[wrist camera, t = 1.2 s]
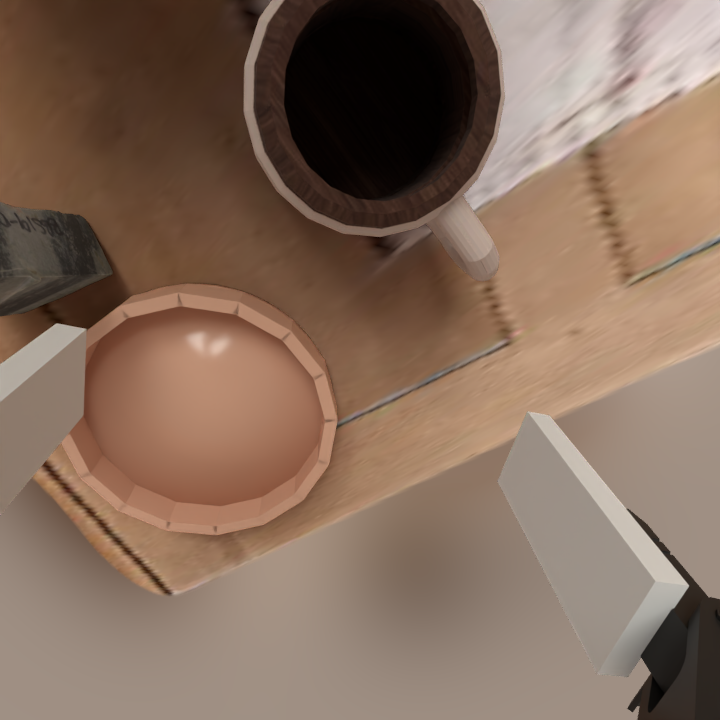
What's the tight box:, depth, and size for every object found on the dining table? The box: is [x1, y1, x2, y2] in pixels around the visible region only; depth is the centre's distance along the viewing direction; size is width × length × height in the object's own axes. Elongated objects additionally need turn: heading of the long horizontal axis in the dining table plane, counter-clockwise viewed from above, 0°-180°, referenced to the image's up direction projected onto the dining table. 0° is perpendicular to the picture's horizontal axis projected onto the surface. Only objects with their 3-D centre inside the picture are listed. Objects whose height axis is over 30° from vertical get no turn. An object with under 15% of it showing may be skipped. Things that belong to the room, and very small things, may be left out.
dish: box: [61, 283, 338, 535], centre depth 43 cm, size 22×22×4 cm
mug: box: [243, 0, 505, 281], centre depth 30 cm, size 20×15×15 cm
